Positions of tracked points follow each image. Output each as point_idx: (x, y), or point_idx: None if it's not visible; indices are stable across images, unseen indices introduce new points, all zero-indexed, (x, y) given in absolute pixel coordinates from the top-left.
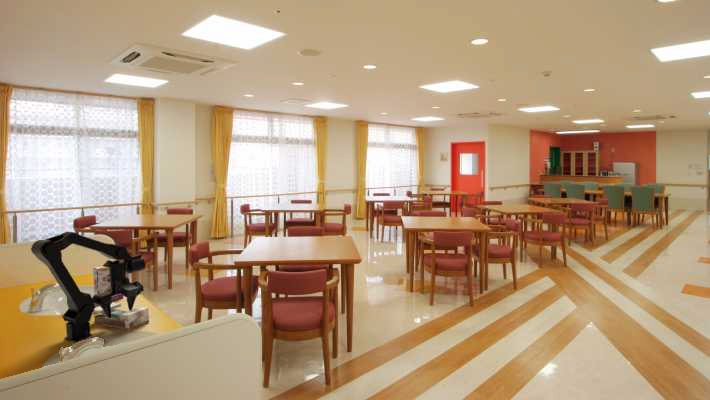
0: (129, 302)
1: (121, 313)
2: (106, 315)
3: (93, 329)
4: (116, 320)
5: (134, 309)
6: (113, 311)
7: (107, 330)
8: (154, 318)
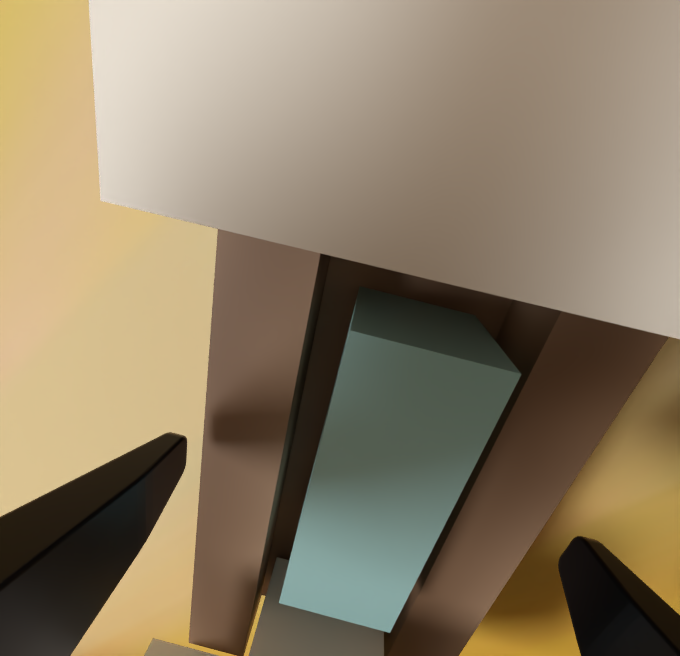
0: (51, 626)
1: (387, 485)
2: None
3: None
4: (623, 402)
5: (328, 223)
6: (267, 619)
7: (637, 401)
8: None
